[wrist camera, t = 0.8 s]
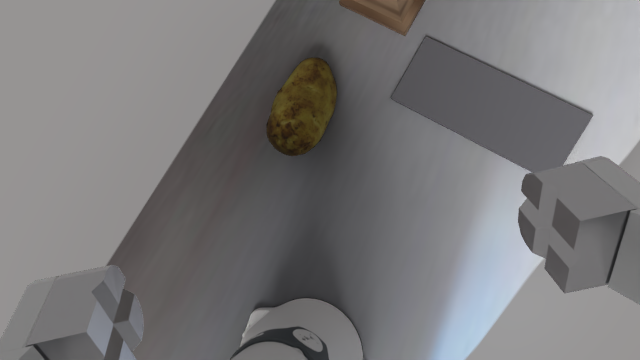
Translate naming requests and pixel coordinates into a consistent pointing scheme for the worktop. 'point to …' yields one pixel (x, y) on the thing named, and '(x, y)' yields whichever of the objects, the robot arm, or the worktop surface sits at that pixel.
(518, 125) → the mat
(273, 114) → the potato
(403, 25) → the stand
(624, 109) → the worktop surface
